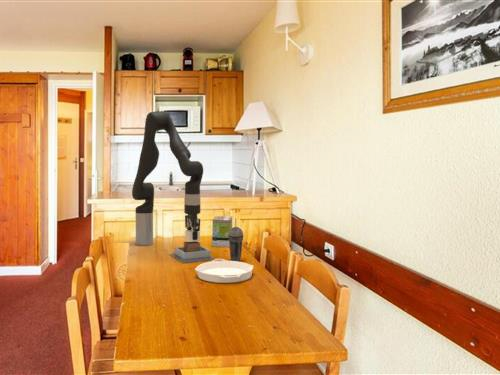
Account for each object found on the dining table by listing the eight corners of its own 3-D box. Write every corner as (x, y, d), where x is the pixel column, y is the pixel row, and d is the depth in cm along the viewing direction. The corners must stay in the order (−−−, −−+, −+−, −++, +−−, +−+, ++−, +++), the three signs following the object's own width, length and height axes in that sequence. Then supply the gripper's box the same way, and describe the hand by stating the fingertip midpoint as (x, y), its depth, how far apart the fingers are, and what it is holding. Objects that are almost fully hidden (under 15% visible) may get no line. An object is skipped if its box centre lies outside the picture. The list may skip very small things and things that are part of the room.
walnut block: (183, 254, 211) (183, 241, 211) (195, 252, 214) (195, 240, 214) (188, 256, 206) (188, 244, 206) (200, 255, 209) (200, 243, 209)
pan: (199, 287, 164) (199, 277, 164) (190, 269, 190) (190, 260, 190) (262, 283, 171) (263, 273, 170) (244, 265, 197) (245, 257, 196)
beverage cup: (244, 258, 209) (244, 216, 207) (242, 262, 202) (242, 219, 200) (229, 258, 210) (229, 216, 208) (226, 261, 202) (227, 218, 201)
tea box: (230, 247, 234) (230, 219, 233) (211, 246, 235) (211, 219, 233) (232, 241, 249) (232, 215, 248) (214, 241, 250) (214, 215, 248)
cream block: (185, 239, 212) (185, 230, 211) (197, 238, 213) (197, 229, 213) (187, 241, 206) (187, 232, 206) (199, 241, 208) (199, 231, 207)
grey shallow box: (170, 255, 214) (170, 247, 214) (200, 251, 222) (200, 244, 222) (182, 263, 199) (182, 254, 198) (215, 259, 206) (215, 251, 206)
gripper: (179, 202, 213) (179, 236, 214) (190, 205, 200) (190, 242, 201) (194, 201, 216) (194, 235, 218) (205, 204, 204) (205, 240, 205)
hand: (192, 238), depth 210 cm, fingers closed on cream block, 6 cm apart
